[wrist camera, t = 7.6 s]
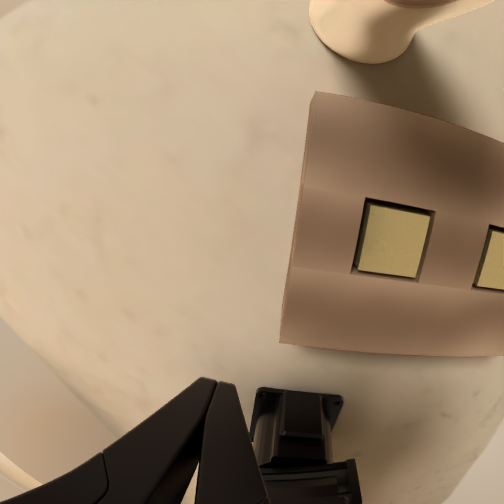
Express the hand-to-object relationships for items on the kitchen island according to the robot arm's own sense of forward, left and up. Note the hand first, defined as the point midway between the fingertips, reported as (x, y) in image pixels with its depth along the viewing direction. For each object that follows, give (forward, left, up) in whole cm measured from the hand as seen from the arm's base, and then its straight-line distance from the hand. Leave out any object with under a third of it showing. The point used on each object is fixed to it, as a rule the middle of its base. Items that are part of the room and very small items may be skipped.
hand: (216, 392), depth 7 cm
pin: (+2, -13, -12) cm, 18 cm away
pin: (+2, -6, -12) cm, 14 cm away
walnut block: (+2, -10, -12) cm, 16 cm away
